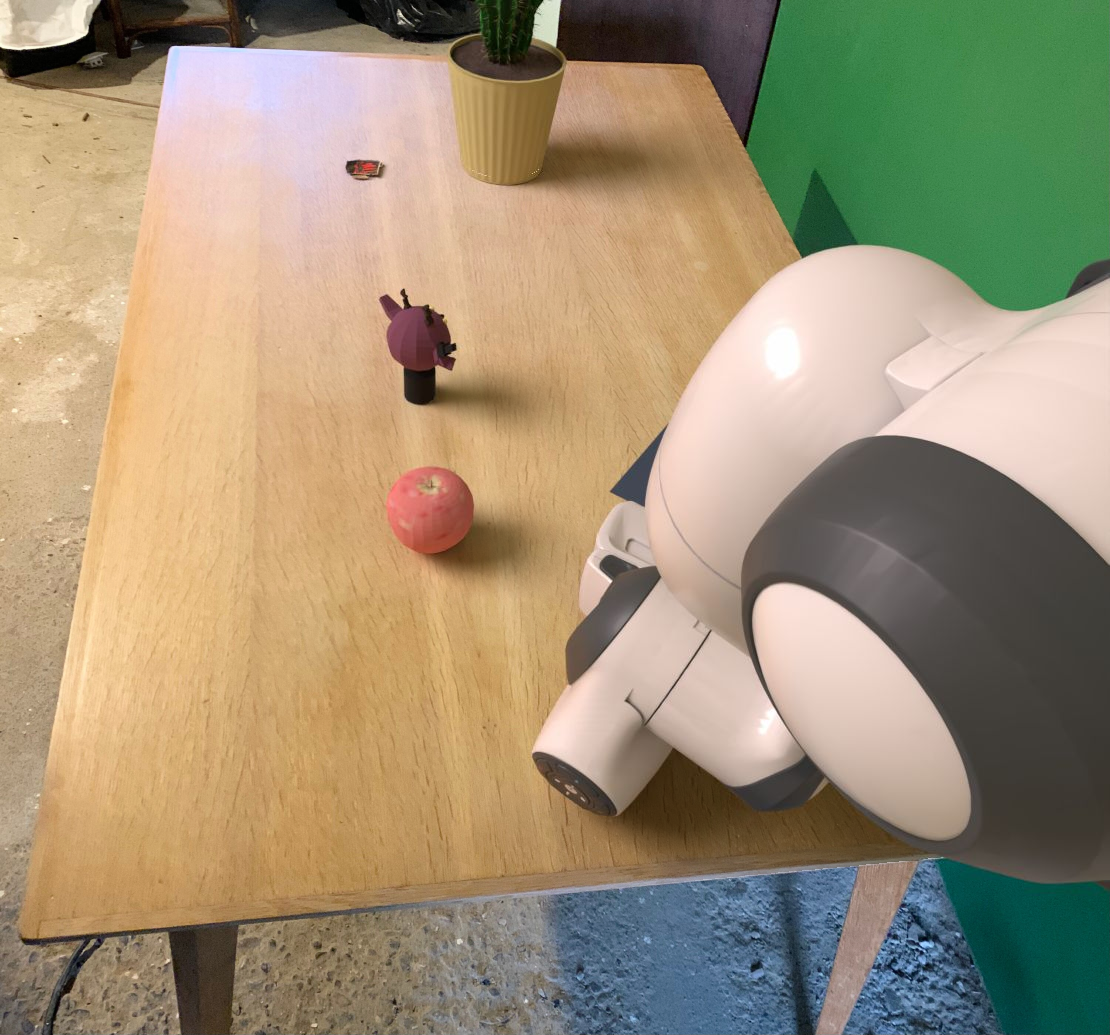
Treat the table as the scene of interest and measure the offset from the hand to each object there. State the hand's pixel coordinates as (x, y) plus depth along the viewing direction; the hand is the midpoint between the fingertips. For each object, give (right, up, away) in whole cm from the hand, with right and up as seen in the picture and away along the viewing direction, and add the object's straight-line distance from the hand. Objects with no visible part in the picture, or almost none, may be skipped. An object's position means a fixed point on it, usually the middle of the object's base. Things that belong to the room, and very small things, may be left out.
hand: (746, 527), depth 82 cm
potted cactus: (-24, +50, +50) cm, 75 cm away
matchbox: (-43, +48, +45) cm, 78 cm away
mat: (+2, +4, +11) cm, 12 cm away
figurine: (-31, +13, +16) cm, 37 cm away
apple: (-28, -1, +3) cm, 28 cm away
